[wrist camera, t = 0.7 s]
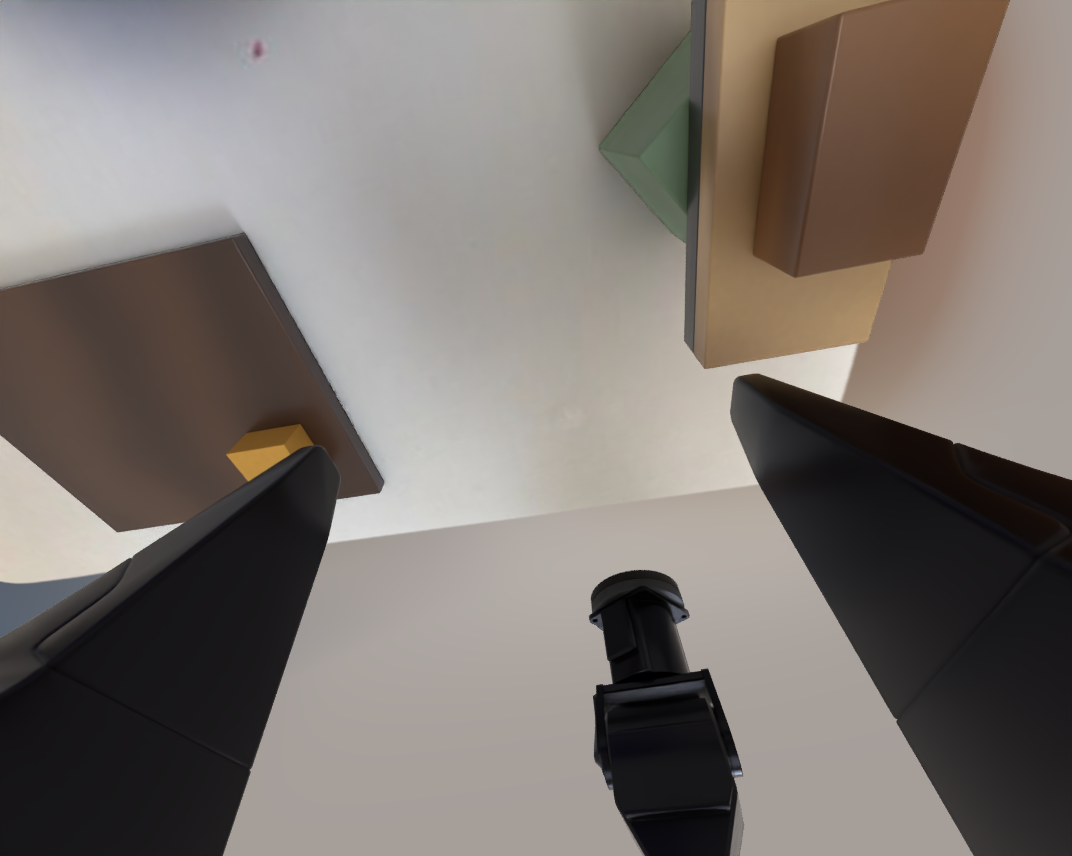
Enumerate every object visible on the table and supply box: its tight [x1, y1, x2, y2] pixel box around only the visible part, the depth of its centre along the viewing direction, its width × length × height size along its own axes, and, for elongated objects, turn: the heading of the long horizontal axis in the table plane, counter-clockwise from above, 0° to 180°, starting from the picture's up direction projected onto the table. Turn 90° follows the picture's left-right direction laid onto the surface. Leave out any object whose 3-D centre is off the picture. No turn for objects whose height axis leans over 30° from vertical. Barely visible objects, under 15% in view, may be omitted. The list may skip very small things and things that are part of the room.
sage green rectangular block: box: [598, 31, 691, 243], centre depth 14 cm, size 5×5×8 cm
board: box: [0, 234, 384, 532], centre depth 24 cm, size 20×16×1 cm
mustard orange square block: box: [226, 424, 314, 481], centre depth 24 cm, size 4×4×2 cm
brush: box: [684, 0, 1010, 369], centre depth 9 cm, size 10×4×4 cm, turn 11°
